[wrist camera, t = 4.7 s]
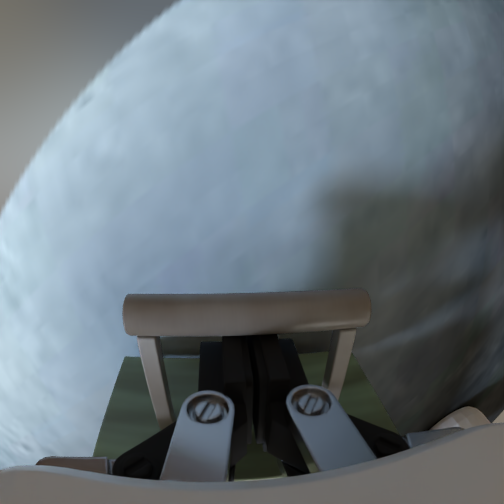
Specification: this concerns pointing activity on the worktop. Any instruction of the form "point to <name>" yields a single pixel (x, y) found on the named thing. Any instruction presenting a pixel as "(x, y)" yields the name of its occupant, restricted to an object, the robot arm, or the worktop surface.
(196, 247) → the worktop surface
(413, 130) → the worktop surface
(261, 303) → the drawer
